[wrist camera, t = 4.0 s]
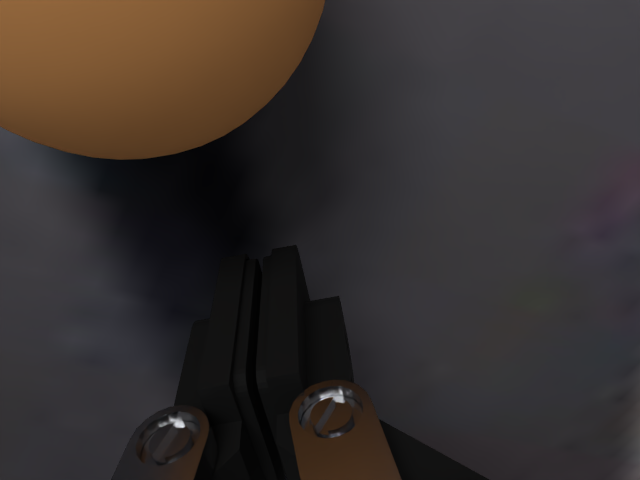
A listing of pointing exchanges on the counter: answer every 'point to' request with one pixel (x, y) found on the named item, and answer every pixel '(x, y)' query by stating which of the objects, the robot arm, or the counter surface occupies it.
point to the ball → (144, 70)
